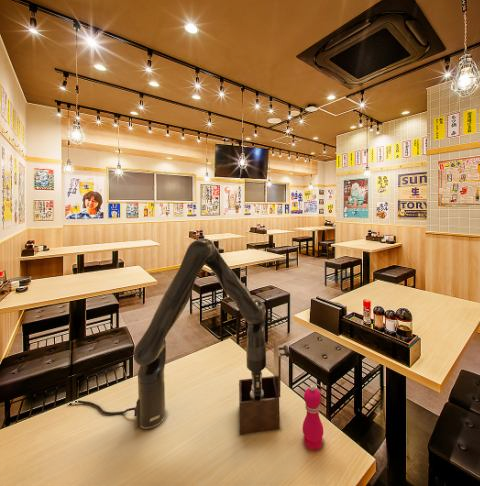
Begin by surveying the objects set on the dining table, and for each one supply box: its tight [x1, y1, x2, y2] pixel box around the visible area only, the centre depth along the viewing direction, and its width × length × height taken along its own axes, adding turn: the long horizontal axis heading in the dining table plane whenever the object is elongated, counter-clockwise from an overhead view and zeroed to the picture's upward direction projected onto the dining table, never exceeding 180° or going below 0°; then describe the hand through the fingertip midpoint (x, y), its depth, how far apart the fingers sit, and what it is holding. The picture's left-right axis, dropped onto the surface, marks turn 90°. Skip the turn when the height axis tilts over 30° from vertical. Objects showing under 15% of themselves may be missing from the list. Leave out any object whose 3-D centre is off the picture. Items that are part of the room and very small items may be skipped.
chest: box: [238, 375, 281, 436], centre depth 100 cm, size 15×13×12 cm
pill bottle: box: [250, 384, 264, 401], centre depth 99 cm, size 5×5×10 cm
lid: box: [273, 338, 291, 398], centre depth 101 cm, size 15×13×5 cm
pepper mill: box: [302, 384, 324, 451], centre depth 89 cm, size 7×7×20 cm
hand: (256, 396), depth 99 cm, fingers closed on pill bottle, 5 cm apart
